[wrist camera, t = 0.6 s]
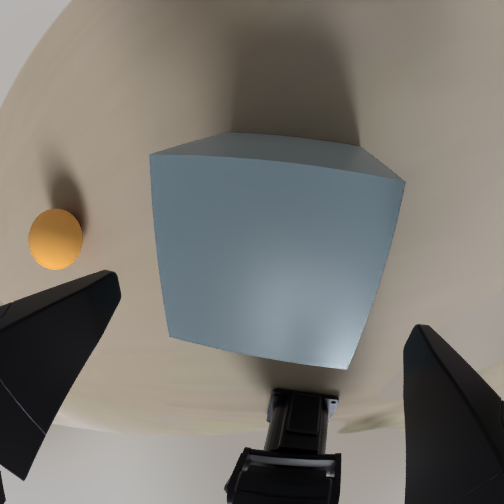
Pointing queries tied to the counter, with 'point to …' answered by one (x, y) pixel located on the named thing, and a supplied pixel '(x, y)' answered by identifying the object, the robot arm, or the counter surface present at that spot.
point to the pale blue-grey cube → (272, 243)
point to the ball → (55, 239)
